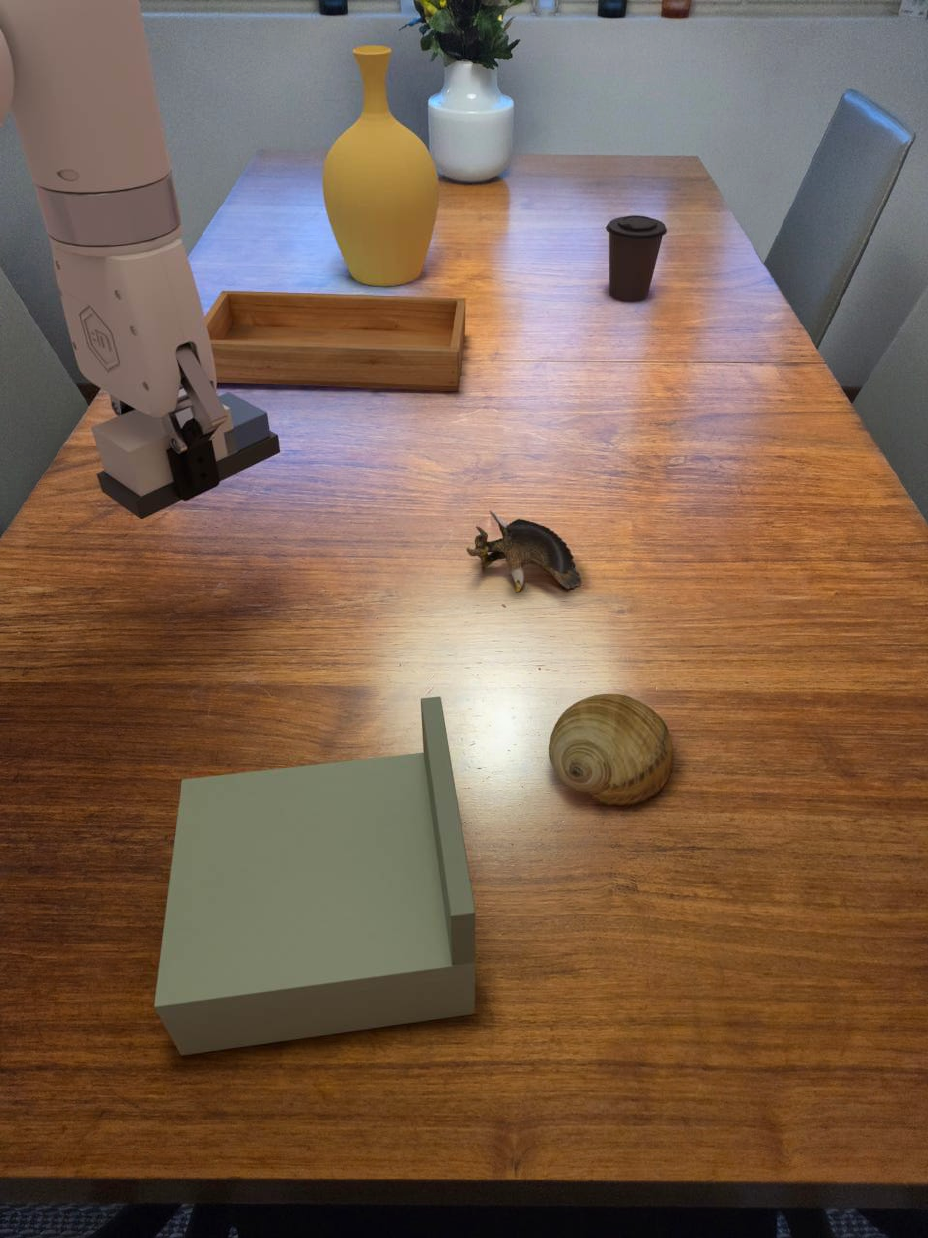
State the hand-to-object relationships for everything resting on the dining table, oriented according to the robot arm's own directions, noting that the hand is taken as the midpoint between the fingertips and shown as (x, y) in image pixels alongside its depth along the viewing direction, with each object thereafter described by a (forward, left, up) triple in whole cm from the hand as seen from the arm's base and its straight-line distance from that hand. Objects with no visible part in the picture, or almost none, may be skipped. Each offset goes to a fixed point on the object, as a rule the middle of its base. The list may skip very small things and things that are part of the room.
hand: (175, 474), depth 63 cm
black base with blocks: (+1, +1, -1) cm, 2 cm away
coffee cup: (+53, +61, -15) cm, 82 cm away
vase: (+20, +74, -15) cm, 78 cm away
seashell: (+29, -19, -15) cm, 37 cm away
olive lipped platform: (+9, -28, -15) cm, 33 cm away
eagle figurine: (+27, +2, -15) cm, 30 cm away
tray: (+12, +46, -15) cm, 50 cm away
